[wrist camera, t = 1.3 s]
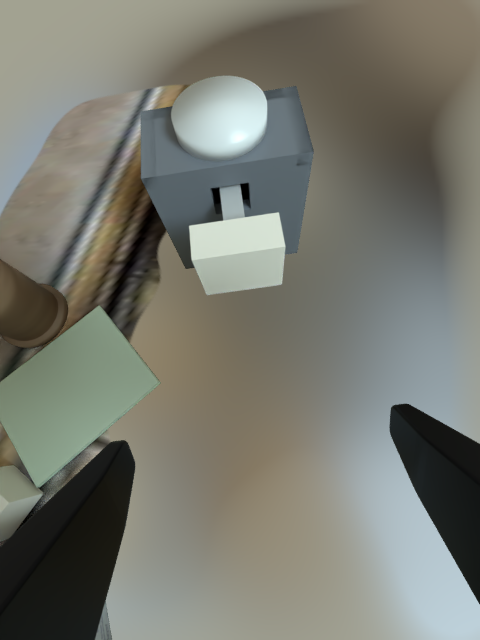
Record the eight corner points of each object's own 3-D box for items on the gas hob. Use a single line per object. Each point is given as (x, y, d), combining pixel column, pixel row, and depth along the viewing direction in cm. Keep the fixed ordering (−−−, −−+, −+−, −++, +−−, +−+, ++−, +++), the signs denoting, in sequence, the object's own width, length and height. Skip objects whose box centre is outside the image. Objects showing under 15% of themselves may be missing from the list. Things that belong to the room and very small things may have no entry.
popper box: (297, 252, 25) (316, 133, 15) (185, 268, 25) (133, 163, 15) (285, 199, 27) (296, 62, 17) (182, 215, 27) (133, 90, 17)
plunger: (281, 284, 18) (285, 246, 15) (207, 295, 19) (191, 260, 15) (267, 203, 21) (266, 152, 17) (199, 213, 21) (184, 165, 17)
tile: (160, 382, 22) (159, 382, 22) (40, 486, 20) (36, 487, 20) (101, 307, 25) (99, 305, 24) (-10, 394, 23) (-15, 393, 22)
